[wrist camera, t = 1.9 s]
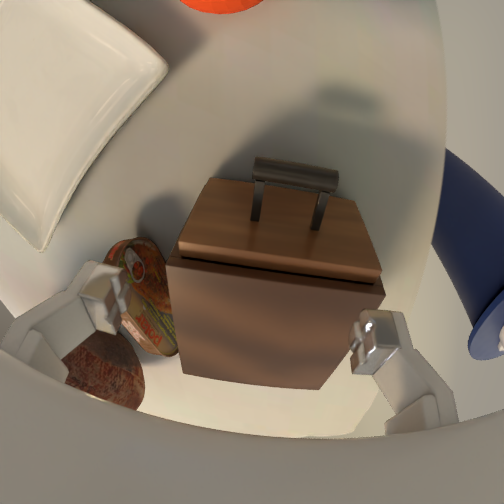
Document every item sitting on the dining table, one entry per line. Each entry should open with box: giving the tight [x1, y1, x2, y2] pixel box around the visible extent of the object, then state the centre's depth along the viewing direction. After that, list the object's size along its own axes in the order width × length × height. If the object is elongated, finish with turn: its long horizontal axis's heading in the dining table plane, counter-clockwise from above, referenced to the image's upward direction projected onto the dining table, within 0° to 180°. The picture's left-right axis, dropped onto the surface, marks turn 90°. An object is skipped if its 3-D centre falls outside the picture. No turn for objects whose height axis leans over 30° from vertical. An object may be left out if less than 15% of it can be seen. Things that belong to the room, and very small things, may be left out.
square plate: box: [0, 0, 169, 253], centre depth 16 cm, size 27×27×4 cm
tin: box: [103, 237, 179, 357], centre depth 29 cm, size 15×3×8 cm, turn 12°
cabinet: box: [166, 185, 386, 390], centre depth 25 cm, size 15×14×11 cm
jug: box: [61, 330, 145, 410], centre depth 35 cm, size 22×21×25 cm
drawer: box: [178, 156, 382, 283], centre depth 22 cm, size 18×12×9 cm
